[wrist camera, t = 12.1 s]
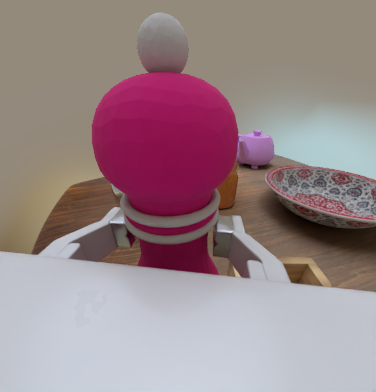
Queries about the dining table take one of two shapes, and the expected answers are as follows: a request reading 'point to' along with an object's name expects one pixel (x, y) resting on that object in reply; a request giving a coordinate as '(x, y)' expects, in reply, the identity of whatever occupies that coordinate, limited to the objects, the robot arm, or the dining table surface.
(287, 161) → the dining table surface
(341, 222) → the ceramic bowl
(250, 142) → the teapot
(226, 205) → the bread
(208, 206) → the pepper mill
